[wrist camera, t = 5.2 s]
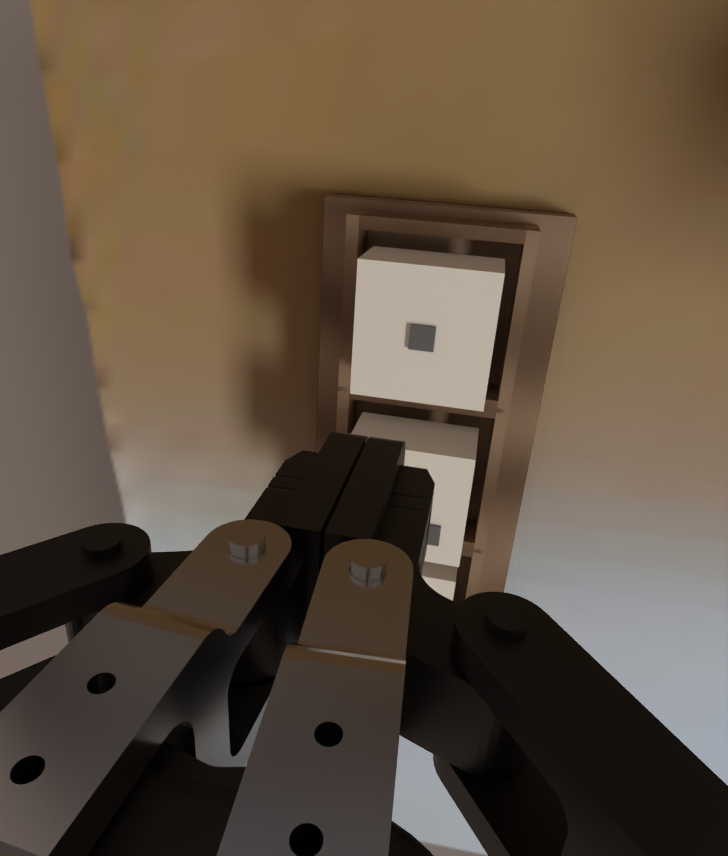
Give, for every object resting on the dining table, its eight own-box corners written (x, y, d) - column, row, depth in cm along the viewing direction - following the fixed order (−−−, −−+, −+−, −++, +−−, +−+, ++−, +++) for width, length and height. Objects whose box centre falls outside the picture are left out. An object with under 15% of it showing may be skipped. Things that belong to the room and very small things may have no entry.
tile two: (362, 411, 27) (345, 442, 24) (478, 428, 26) (475, 462, 24) (356, 509, 29) (340, 548, 26) (463, 527, 29) (458, 569, 26)
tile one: (373, 245, 24) (356, 259, 21) (504, 258, 23) (505, 274, 21) (365, 368, 26) (348, 395, 24) (485, 383, 26) (483, 413, 23)
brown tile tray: (331, 193, 27) (311, 199, 24) (574, 214, 25) (583, 223, 22) (316, 601, 36) (299, 640, 33) (492, 635, 34) (491, 679, 32)
